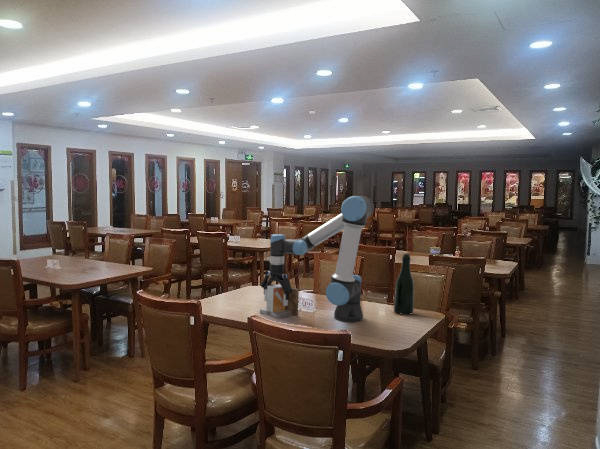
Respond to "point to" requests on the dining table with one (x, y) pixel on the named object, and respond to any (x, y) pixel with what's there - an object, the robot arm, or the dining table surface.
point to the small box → (275, 298)
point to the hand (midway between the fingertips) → (275, 303)
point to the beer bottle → (404, 288)
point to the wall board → (289, 309)
